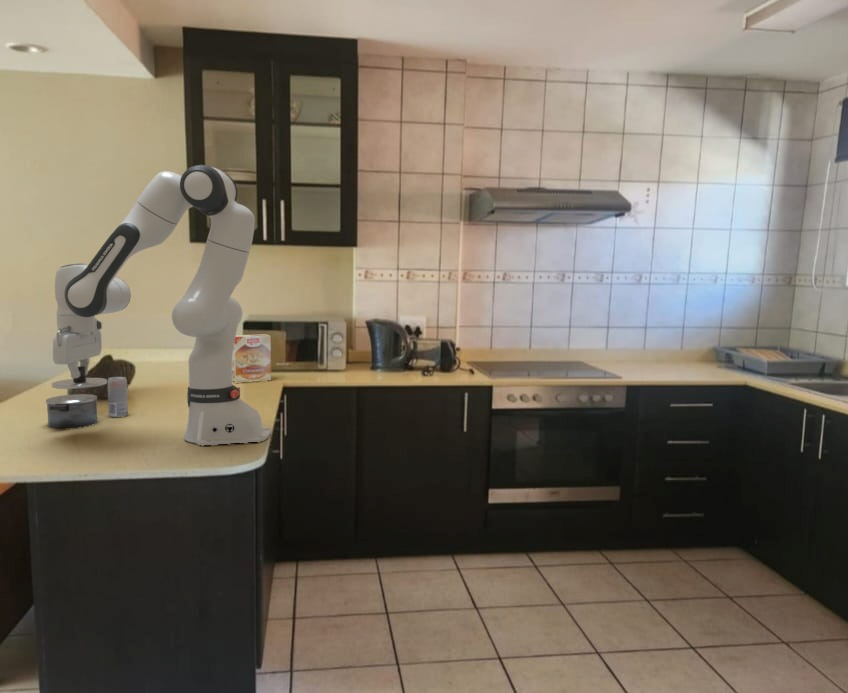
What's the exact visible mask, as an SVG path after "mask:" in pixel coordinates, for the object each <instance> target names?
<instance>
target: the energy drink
mask: <svg viewBox="0 0 848 693" xmlns="http://www.w3.org/2000/svg"><path fill="white" fill-rule="evenodd" d="M107 400H108V401H107V402H108V404H107V405H108V416H109V418H112V417H120V418H123V417H122V416H125V417H127V416H128V415H129V406H128V405H129V402H128V400H129V399H128V380H127V377H126V376H112V377H108V378H107ZM126 415H127V416H126Z"/></svg>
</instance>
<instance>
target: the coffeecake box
mask: <svg viewBox="0 0 848 693" xmlns="http://www.w3.org/2000/svg"><path fill="white" fill-rule="evenodd" d="M271 338H272V337H271V335H270V334H266V333H262V334H236V337H235V342H234V347H233V353H232V380H233V381H234V382H236V383H239V382H252V381H263V380H271V381H272V342H271V341H272V339H271ZM233 381H232V382H233ZM234 382H233V383H234ZM236 383H235V384H236ZM252 383H253V382H252ZM239 384H240V383H239Z"/></svg>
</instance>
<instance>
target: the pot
mask: <svg viewBox="0 0 848 693" xmlns="http://www.w3.org/2000/svg"><path fill="white" fill-rule="evenodd" d="M97 399H98V395H96V394H89V393H87V394H86V393H76V394H67V395H66V394H64V395H58V396H53V397H49V398H47V399H46V400H45V403H46V405H47V406H46V409H47V427H48V426H49V427H48V428H50V429H53V428H55V429H54V430H70V429H69V428H73V429H80V428H79V427H81V428H85V427H84V426H86V427H90V426H89V425H91V426H93V425H92V424H94V425H96V424H98V407H97V406H98V405H97V404H98V403H97V402H98V401H97ZM95 423H96V424H95ZM66 428H68V429H66Z"/></svg>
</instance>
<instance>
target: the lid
mask: <svg viewBox="0 0 848 693" xmlns="http://www.w3.org/2000/svg"><path fill="white" fill-rule="evenodd" d="M77 366H78V370H79V371H80V377H79V378H68V379H67V378H66V379H62V380H61V379H60V380H57V381H53V382H52V383H51V388H53V389H59V390H74V389H75V390H77V389H89V388H94V387H101V386H105V385H106V384H107V385H108V382H107V381H108V378H107V379H106V378H102V377H87V375H86V370H85V366H80V365H77Z"/></svg>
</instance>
